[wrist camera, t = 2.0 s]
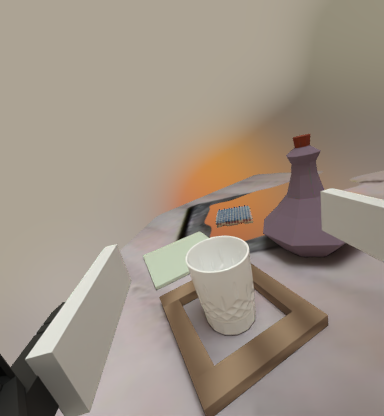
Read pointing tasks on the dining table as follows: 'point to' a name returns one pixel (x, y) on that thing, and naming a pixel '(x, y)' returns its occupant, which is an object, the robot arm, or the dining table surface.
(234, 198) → the dining table surface
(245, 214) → the woven mat
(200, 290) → the white cup
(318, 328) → the brown square frame
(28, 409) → the robot arm
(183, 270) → the sage pad
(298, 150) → the flask
